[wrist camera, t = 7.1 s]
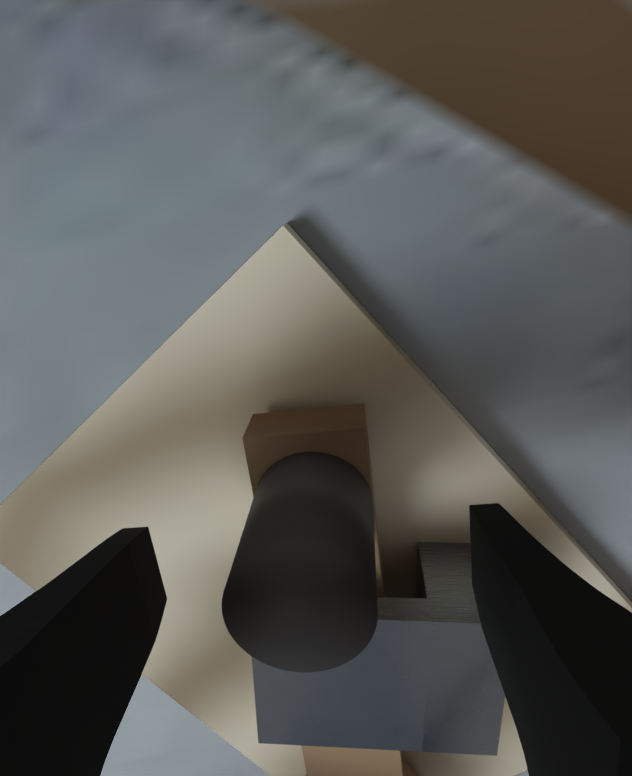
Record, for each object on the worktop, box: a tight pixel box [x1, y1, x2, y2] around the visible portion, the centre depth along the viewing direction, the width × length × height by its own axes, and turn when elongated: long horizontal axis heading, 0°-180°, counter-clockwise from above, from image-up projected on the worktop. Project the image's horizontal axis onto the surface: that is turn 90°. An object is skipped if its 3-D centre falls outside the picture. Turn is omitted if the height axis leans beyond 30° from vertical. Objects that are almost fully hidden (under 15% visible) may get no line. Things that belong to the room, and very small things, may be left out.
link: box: [222, 404, 419, 776], centre depth 16 cm, size 17×4×5 cm, turn 7°
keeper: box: [252, 542, 505, 756], centre depth 17 cm, size 6×4×4 cm
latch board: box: [0, 223, 632, 776], centre depth 18 cm, size 19×14×1 cm
